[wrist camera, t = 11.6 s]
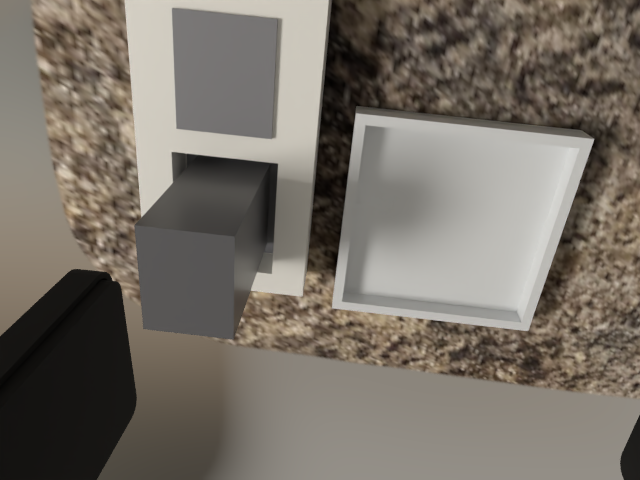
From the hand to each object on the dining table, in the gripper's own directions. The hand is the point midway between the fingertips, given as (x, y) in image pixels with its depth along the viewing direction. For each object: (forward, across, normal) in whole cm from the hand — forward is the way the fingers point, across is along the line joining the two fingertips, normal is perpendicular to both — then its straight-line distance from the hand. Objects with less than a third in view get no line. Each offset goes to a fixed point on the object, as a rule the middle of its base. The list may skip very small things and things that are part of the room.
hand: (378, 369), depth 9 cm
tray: (+23, -5, +7) cm, 25 cm away
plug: (+22, +8, +7) cm, 25 cm away
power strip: (+23, +8, +1) cm, 24 cm away
